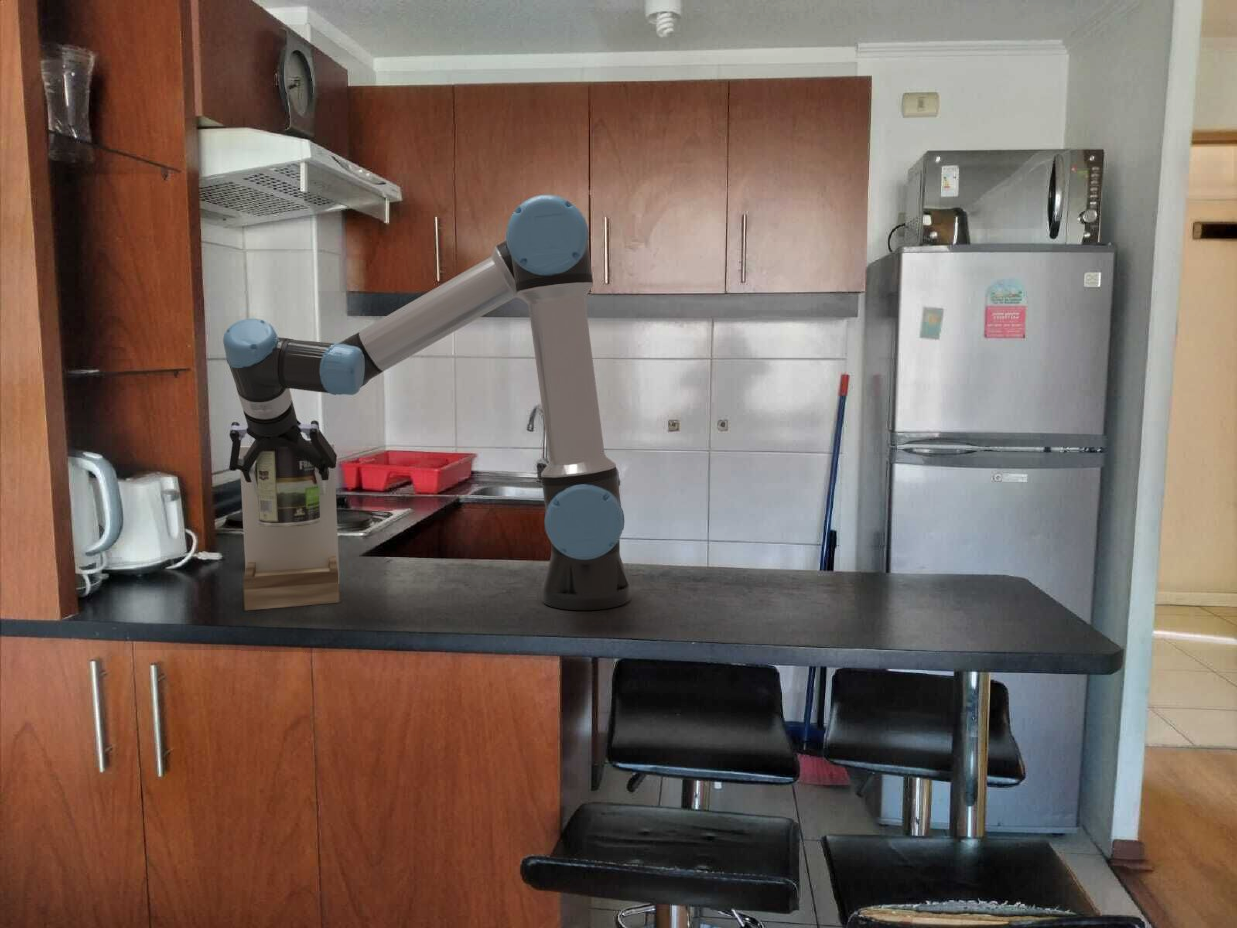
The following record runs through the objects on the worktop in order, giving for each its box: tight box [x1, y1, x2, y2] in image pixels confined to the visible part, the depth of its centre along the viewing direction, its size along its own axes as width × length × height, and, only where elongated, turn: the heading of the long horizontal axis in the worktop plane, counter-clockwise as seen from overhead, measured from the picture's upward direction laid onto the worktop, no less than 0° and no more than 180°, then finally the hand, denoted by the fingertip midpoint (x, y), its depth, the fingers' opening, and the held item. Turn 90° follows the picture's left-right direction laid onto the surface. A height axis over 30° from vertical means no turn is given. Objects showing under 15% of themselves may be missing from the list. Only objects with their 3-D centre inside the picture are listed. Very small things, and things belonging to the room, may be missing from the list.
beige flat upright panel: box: [239, 442, 340, 585], centre depth 169 cm, size 2×16×26 cm, turn 109°
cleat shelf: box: [242, 556, 340, 611], centre depth 162 cm, size 14×15×5 cm
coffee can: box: [256, 439, 321, 527], centre depth 162 cm, size 10×10×14 cm
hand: (291, 490), depth 164 cm, fingers closed on coffee can, 10 cm apart
